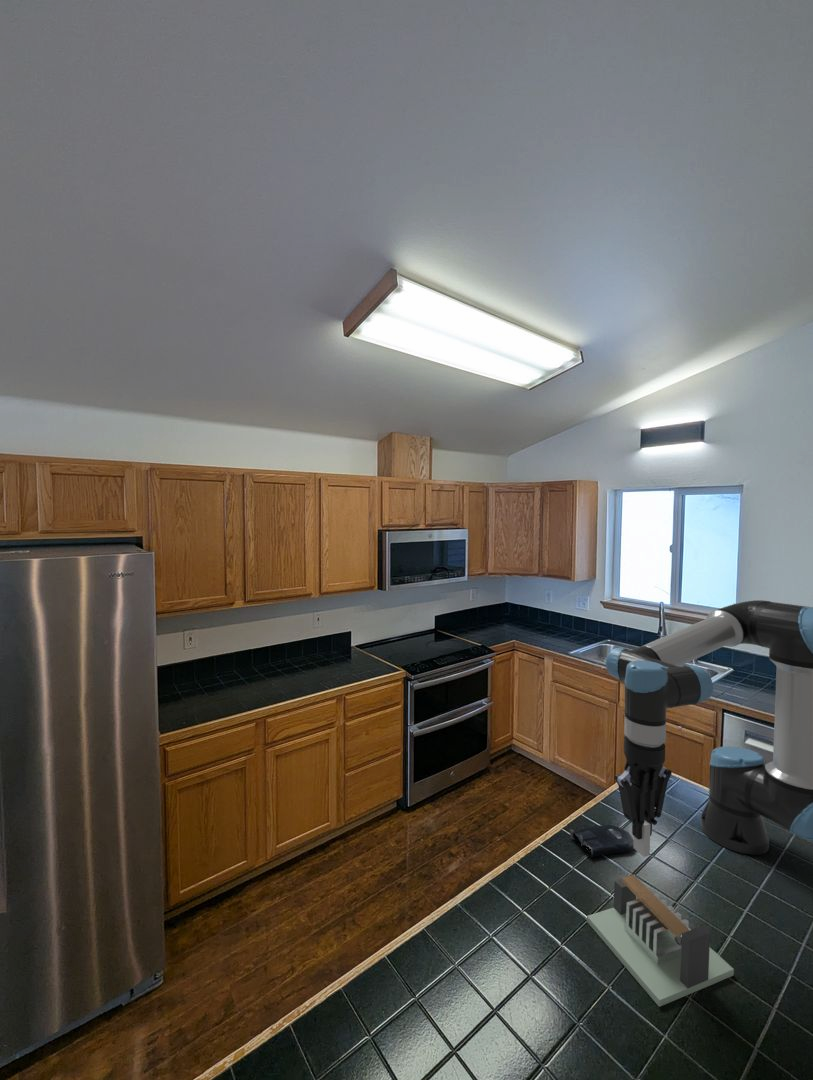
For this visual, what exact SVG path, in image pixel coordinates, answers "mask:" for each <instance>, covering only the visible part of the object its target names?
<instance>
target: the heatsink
mask: <svg viewBox="0 0 813 1080" xmlns="http://www.w3.org/2000/svg"><path fill="white" fill-rule="evenodd" d="M653 894H654V895H655V896H656V897H657V898H658V899H659V900H660V901H661V902H662V903H663V904H664V905H665V906H666V907H667V908H668V909H669V910H670V911H671V912H672V913H673V914H674V915H675V916H676V917H677V918H678V919H679V920H680V921H681V922H682V923H683V924H684V925H685V926H686V927H687V928H688V929H689V928H690V927H689V926H690V925H689V924H690V921H689V920H688V919H686V918H685V919H682V914H681V913H680V912H679V911H677V912H675V910H674V909H675V907H674V906H672V905H668V904H667V903H668V902H667V901H666V899H664V898H662V899H661V895H660V894H659V893H658V892H656V893H653ZM624 930H625V931H626V932H627V933H628V934H629V935H630V936H631V937H632V938H633V939H634V941H635V942H636V943H637V944H638V945H639V946H640V947H641V948H642V949H643V950H644V951H645V952H646V954H647V955H648V956H649V957H650V958H651V959H652V960H653V961H654V962H655V963H656V964H657V965H660V964H662V963H665V962H667V961H670V960H673V959H675V958H678V957H680V956H681V945H678V944H677V943H676V941H675V936H674V935H673V934H672V933H671V932H670V931H669V930H668V929H667V927H666V926H665V925H664V924H663V923H662V922H661V921H660V920H659V919H658V918H657V917H656V916H655V915H654V914H653V913H652V912H651V911H650V910H649V909H648V908H647V907H646V906H645V905H644V904H643V903H642V902H641V901H640V900H639V899H638V898H636V900H633V901H630V902H627V906H626V922H625V923H624Z"/></svg>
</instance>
